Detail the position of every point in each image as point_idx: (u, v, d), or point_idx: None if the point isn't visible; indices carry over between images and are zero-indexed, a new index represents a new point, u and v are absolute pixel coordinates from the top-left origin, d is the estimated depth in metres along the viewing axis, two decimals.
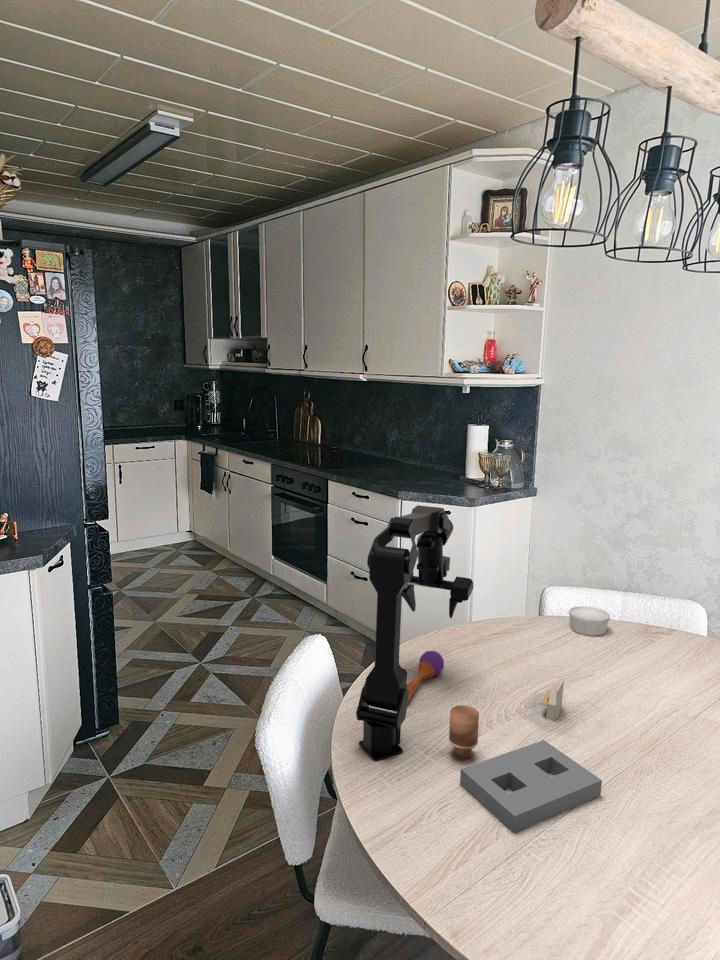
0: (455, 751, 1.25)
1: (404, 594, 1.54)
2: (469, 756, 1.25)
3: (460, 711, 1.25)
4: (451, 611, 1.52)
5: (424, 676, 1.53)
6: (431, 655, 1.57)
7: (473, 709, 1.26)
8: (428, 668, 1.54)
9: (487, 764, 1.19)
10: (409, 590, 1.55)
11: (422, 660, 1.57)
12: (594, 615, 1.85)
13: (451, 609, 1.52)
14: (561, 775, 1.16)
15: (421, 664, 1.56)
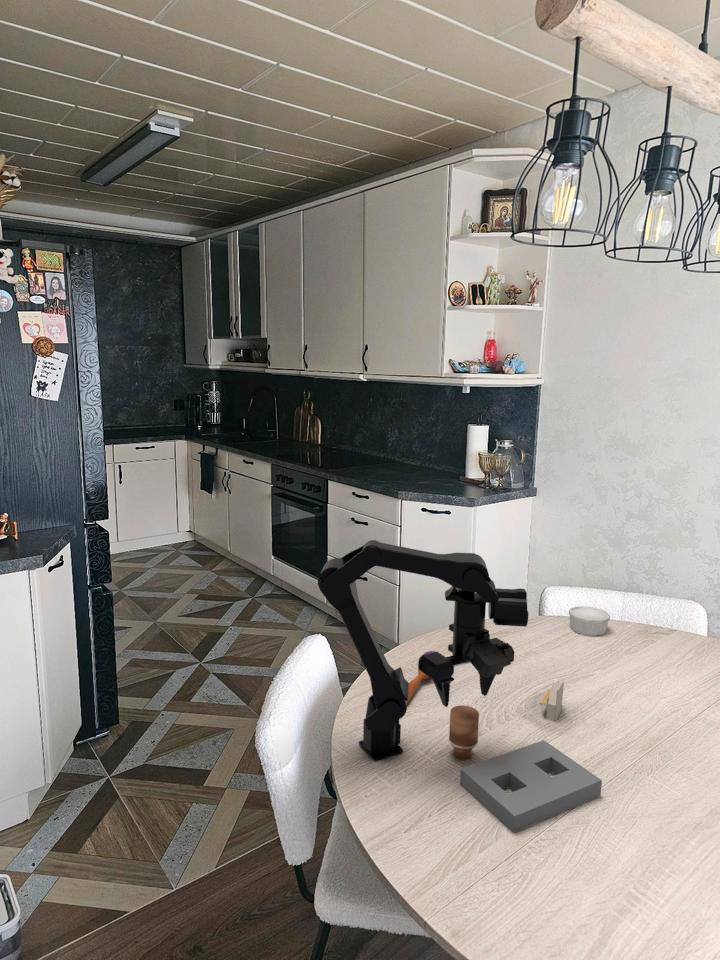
0: (455, 751, 1.25)
1: None
2: (469, 756, 1.25)
3: (460, 711, 1.25)
4: None
5: (424, 676, 1.53)
6: None
7: (473, 709, 1.26)
8: None
9: (487, 764, 1.19)
10: None
11: None
12: (594, 615, 1.85)
13: None
14: (561, 775, 1.16)
15: None
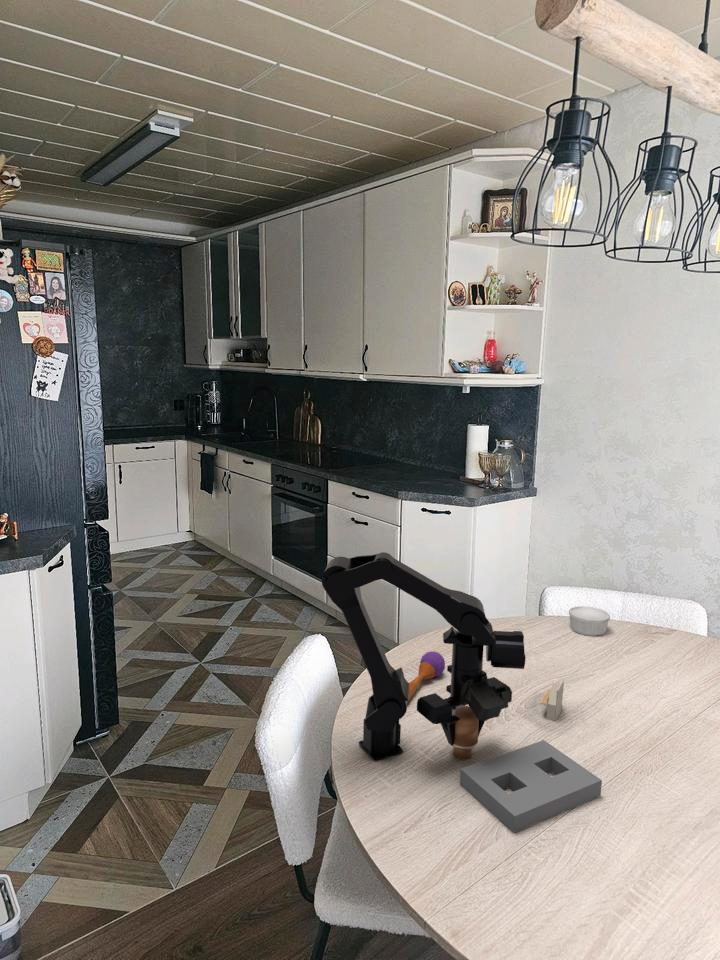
0: (455, 751, 1.25)
1: None
2: (469, 756, 1.25)
3: (460, 711, 1.25)
4: None
5: (424, 677, 1.53)
6: (432, 656, 1.57)
7: None
8: (429, 668, 1.54)
9: (487, 764, 1.19)
10: None
11: (423, 661, 1.57)
12: (594, 615, 1.85)
13: None
14: (561, 775, 1.16)
15: (422, 665, 1.55)
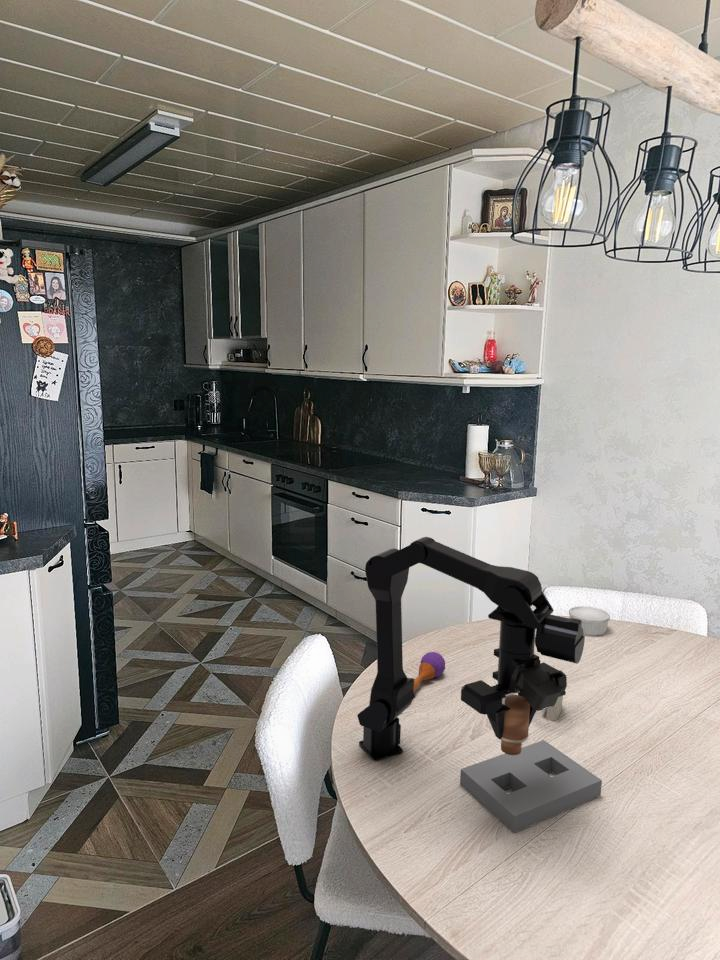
0: (503, 745, 1.11)
1: None
2: (519, 751, 1.11)
3: (508, 700, 1.12)
4: None
5: (424, 677, 1.53)
6: (432, 656, 1.56)
7: (523, 698, 1.12)
8: (429, 669, 1.54)
9: (487, 764, 1.19)
10: None
11: (423, 661, 1.57)
12: (594, 615, 1.85)
13: None
14: (561, 775, 1.16)
15: (422, 665, 1.55)
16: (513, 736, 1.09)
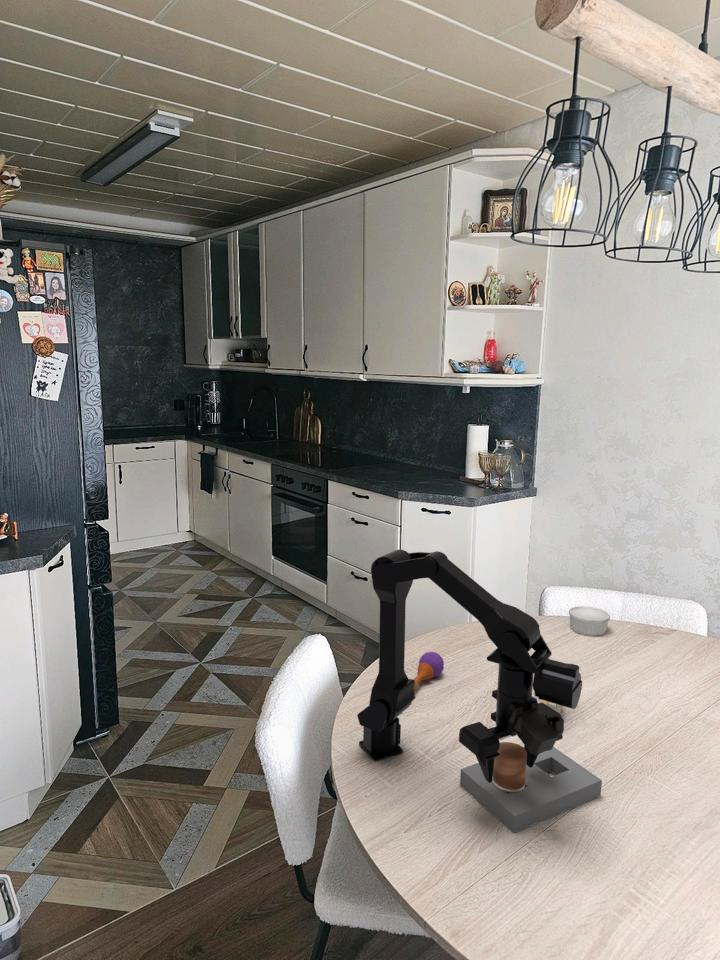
0: None
1: None
2: None
3: (505, 749, 1.13)
4: None
5: (423, 677, 1.53)
6: (431, 656, 1.56)
7: (520, 747, 1.13)
8: (427, 669, 1.54)
9: None
10: None
11: (422, 661, 1.57)
12: (594, 615, 1.85)
13: None
14: (561, 775, 1.16)
15: (420, 665, 1.55)
16: (510, 785, 1.11)
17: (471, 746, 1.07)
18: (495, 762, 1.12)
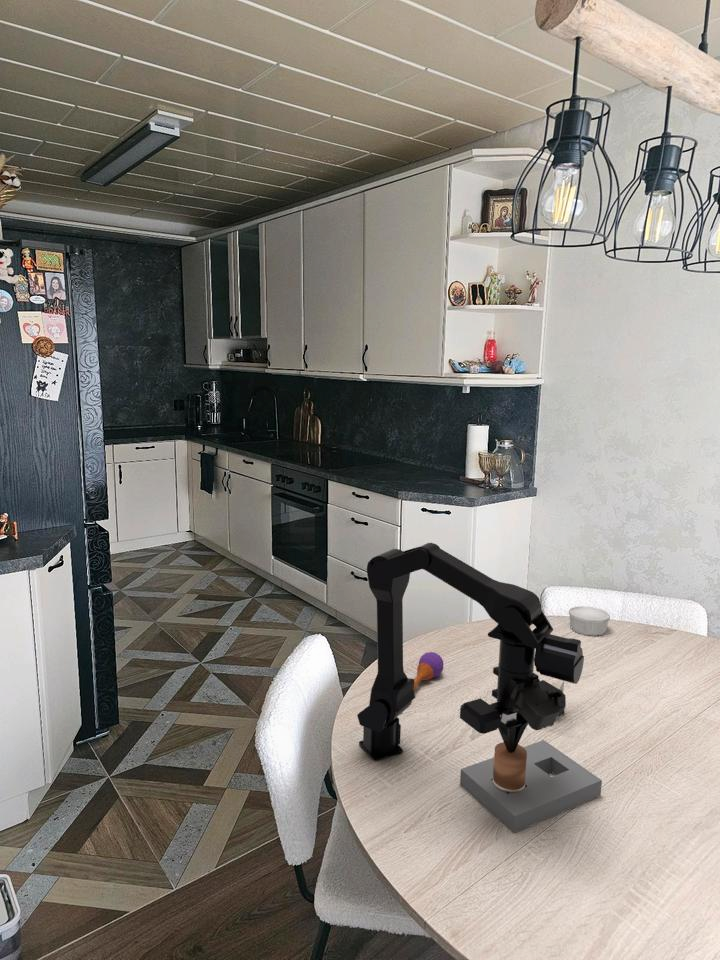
0: None
1: None
2: None
3: (505, 749, 1.13)
4: None
5: (423, 677, 1.53)
6: (431, 657, 1.56)
7: (520, 747, 1.13)
8: (427, 669, 1.54)
9: (487, 764, 1.19)
10: None
11: (421, 661, 1.57)
12: (594, 615, 1.85)
13: None
14: (561, 775, 1.16)
15: (420, 665, 1.55)
16: (510, 785, 1.11)
17: (472, 722, 1.06)
18: (495, 762, 1.12)
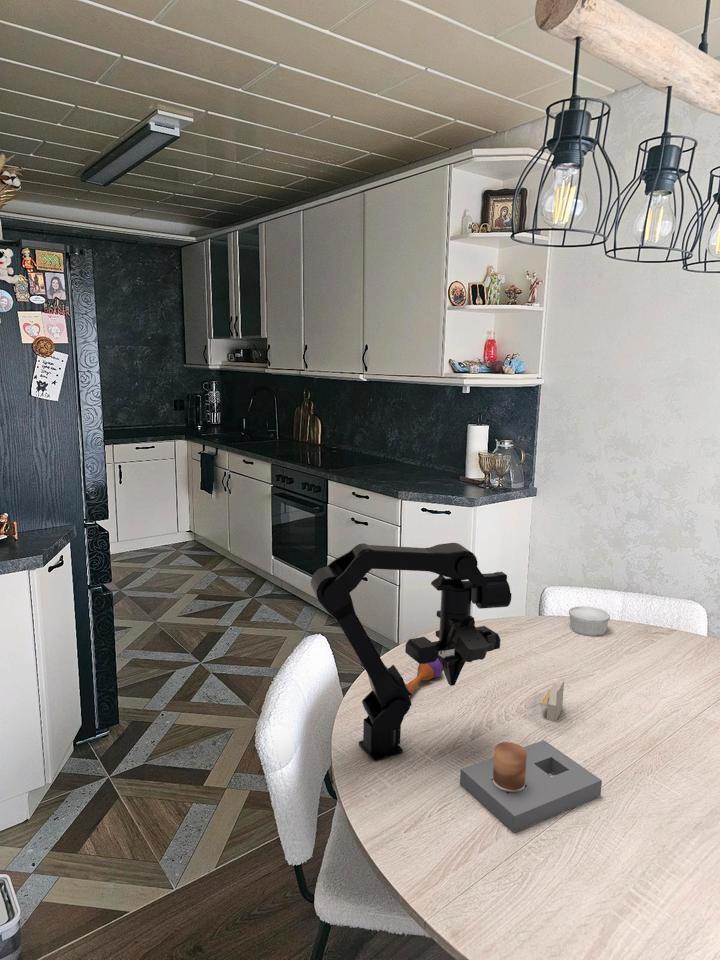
0: None
1: None
2: None
3: (505, 749, 1.13)
4: None
5: (423, 678, 1.52)
6: None
7: (520, 747, 1.13)
8: (427, 669, 1.53)
9: (487, 764, 1.19)
10: None
11: None
12: (594, 615, 1.85)
13: None
14: (561, 775, 1.16)
15: (420, 666, 1.55)
16: (510, 785, 1.11)
17: (414, 654, 1.23)
18: (495, 762, 1.12)
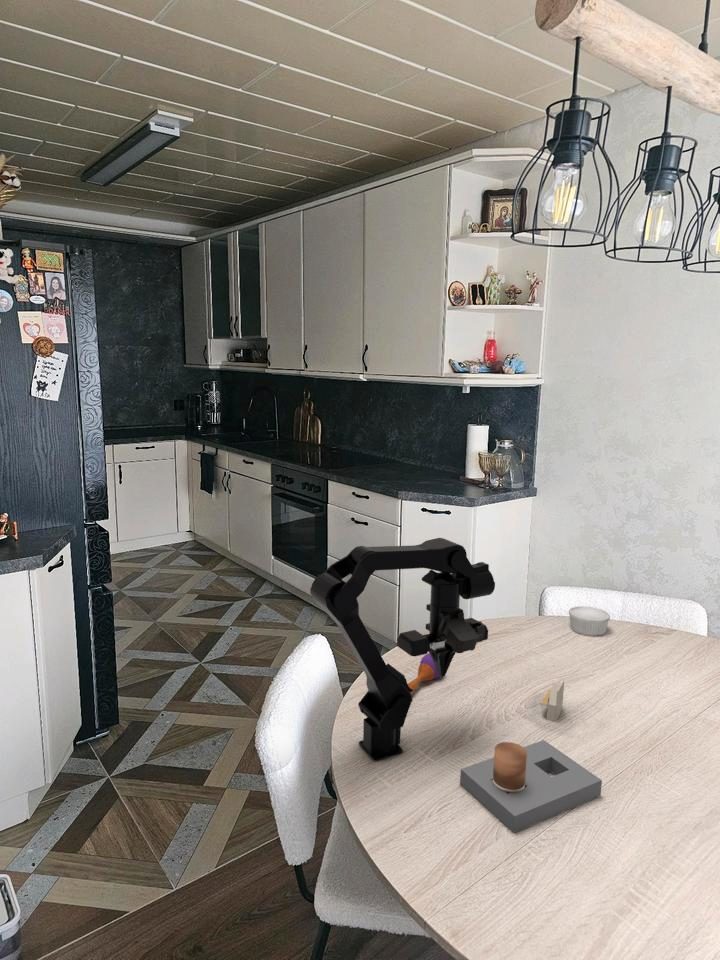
0: None
1: None
2: None
3: (505, 749, 1.13)
4: None
5: (423, 678, 1.52)
6: None
7: (520, 747, 1.13)
8: (428, 670, 1.53)
9: (487, 764, 1.19)
10: None
11: (422, 662, 1.56)
12: (594, 615, 1.85)
13: None
14: (561, 775, 1.16)
15: (421, 666, 1.55)
16: (510, 785, 1.11)
17: (406, 647, 1.26)
18: (495, 762, 1.12)
